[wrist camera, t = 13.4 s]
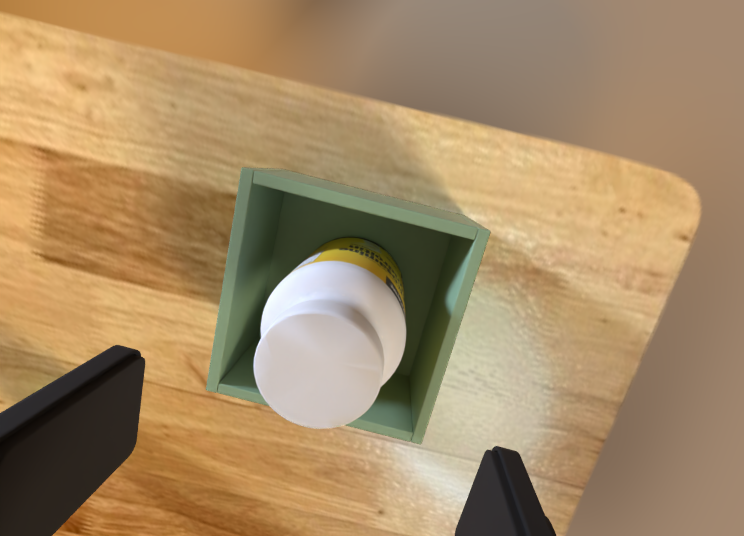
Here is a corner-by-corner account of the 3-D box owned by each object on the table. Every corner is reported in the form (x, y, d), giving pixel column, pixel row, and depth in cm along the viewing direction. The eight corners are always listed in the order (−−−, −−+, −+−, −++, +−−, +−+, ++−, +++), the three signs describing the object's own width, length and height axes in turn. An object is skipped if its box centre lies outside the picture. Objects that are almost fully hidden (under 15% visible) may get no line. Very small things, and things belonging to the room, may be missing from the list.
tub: (466, 215, 24) (491, 231, 18) (415, 381, 27) (421, 445, 21) (281, 168, 24) (241, 167, 18) (249, 339, 27) (205, 390, 21)
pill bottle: (418, 311, 25) (436, 422, 14) (327, 344, 26) (276, 473, 15) (380, 217, 24) (366, 257, 13) (286, 256, 25) (196, 324, 14)
